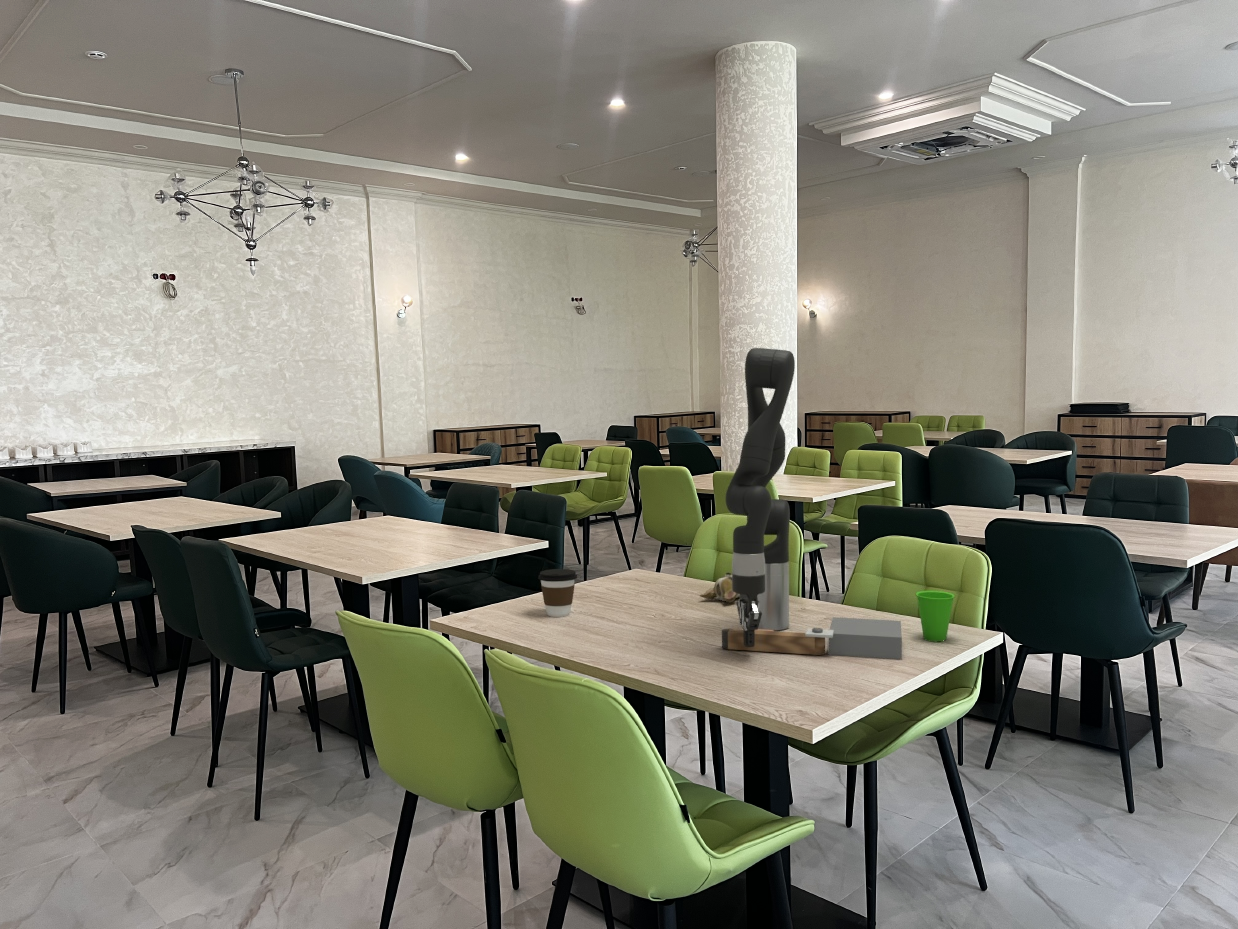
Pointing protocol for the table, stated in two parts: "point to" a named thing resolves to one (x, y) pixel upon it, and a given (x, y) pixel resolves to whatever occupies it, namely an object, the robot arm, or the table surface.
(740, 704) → the table surface
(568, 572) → the coffee cup
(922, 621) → the cup
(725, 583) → the ceramic sculpture
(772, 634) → the leg
